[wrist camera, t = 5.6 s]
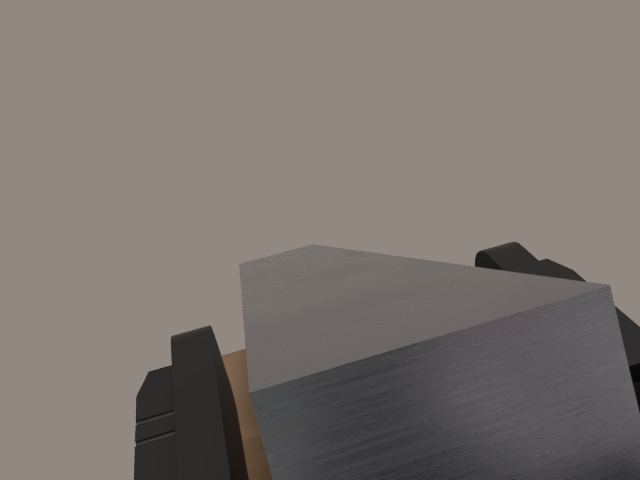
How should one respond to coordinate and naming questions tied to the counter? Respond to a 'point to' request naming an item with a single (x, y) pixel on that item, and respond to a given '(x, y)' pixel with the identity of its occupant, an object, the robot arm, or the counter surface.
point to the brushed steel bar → (434, 371)
